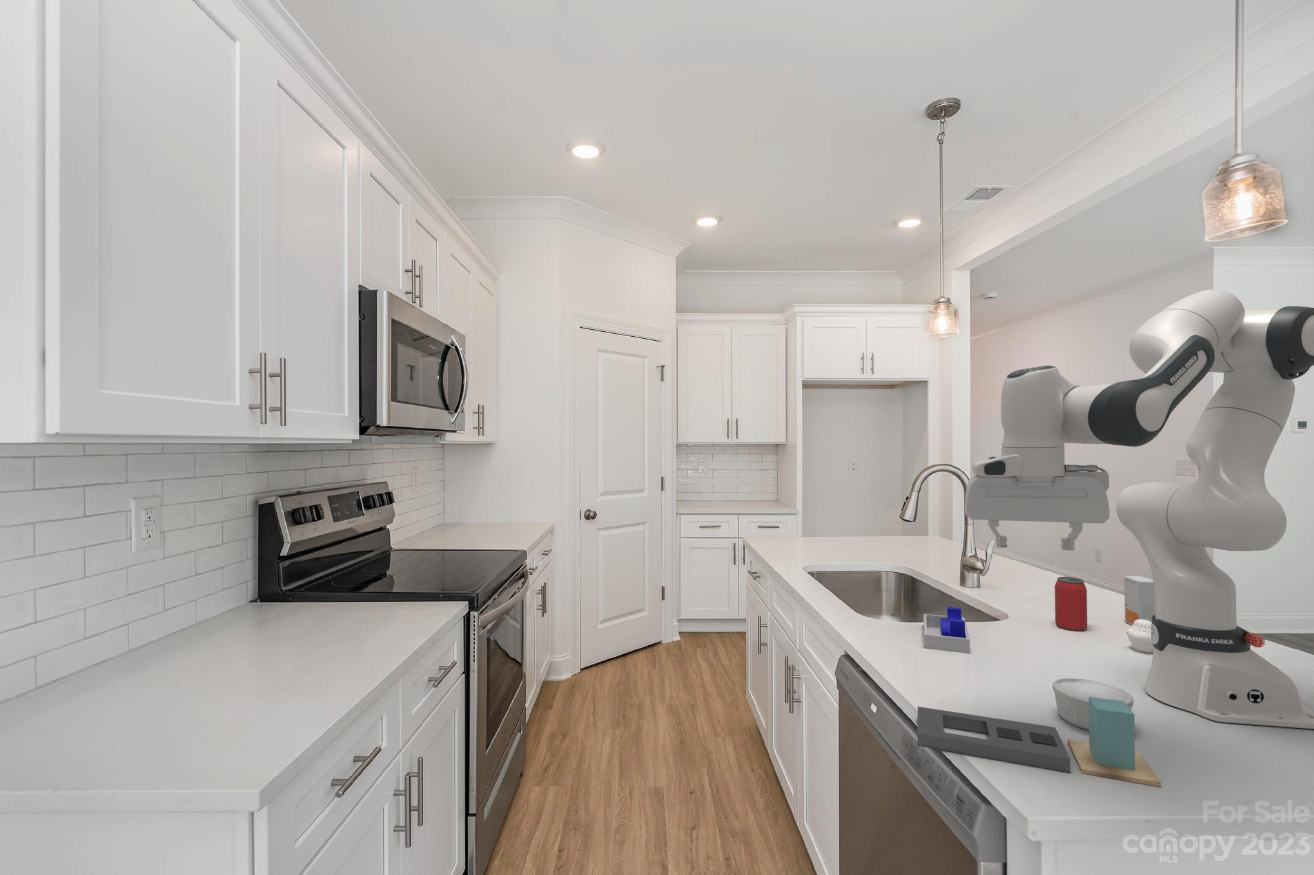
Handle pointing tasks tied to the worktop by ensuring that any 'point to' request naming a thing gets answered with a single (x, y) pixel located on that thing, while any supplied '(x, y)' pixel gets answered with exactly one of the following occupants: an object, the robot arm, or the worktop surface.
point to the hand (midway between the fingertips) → (1034, 548)
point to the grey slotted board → (993, 739)
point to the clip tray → (944, 641)
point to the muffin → (1141, 636)
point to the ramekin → (1084, 698)
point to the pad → (1091, 767)
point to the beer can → (1071, 604)
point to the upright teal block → (1111, 733)
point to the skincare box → (1138, 598)
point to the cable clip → (953, 623)
